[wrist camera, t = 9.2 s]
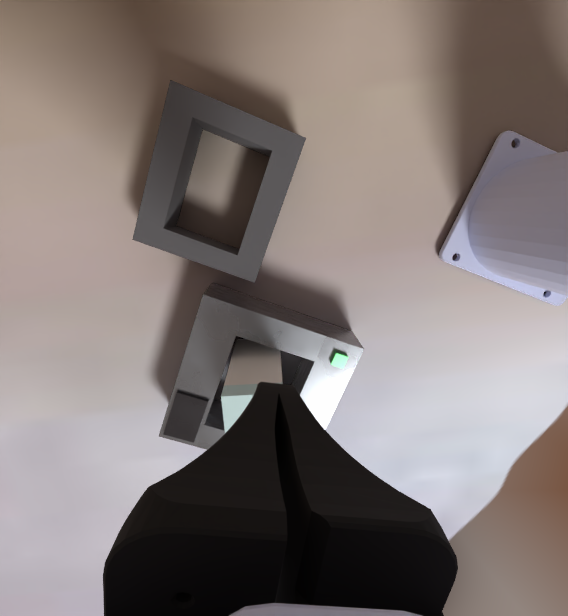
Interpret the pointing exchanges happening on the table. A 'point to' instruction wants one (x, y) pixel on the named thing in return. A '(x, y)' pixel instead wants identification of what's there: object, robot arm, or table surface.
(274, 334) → the port
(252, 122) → the grey hollow square frame
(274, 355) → the plug
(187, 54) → the table surface
